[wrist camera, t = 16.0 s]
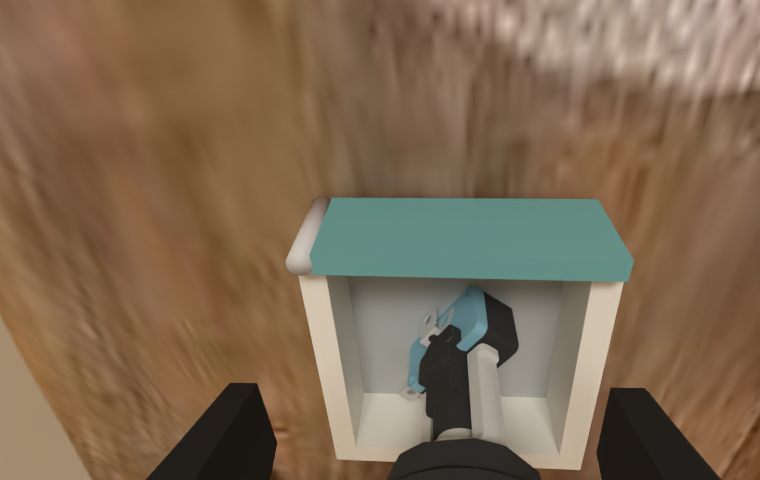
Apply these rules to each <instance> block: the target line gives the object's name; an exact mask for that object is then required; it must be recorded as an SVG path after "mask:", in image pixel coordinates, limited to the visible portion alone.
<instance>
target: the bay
mask: <svg viewBox="0 0 760 480" xmlns="http://www.w3.org/2000/svg"><path fill="white" fill-rule="evenodd" d="M299 281H300V286H301V290H302V295H303V300H304V305H305V309H306V314H307V319H308V324H309V328H310V333H311V338H312V343H313V347H314V352H315V357H316V362H317V366H318V371H319V376H320V381H321V385H322V390H323V395H324V400H325V404H326V409H327V414H328V419H329V423H330V428H331V433H332V438H333V442H334V447H335V452H336V457H337V459H342V460H364V461H387V462H396V460H397V458H398V456H399V455H400V454H401V453H402V452H404V451H406V450H408V449H410V448H412V447H414V446H416V445H418V444H420V443H422V414H423V407H422V406H421V396H422V394H420V395H419V396H418V397H417V398H416V399H415V400H414V401H409V400H407V399H405V398H403V397H401V396H400V395H399V392H400V391H401V390H402V389H404V388H405V387H406V386H407V385H408V384H407V383H405V382H403V381H401V379H400V378H401V376H402V375H404V374H405V373H406V372H407V371H408V370H409V365H410V350H411V347H412V345H413V343H414V342H415V341H416V340H417V339H418V338H419V337H420V324H421V320H422V318H423V316H424V315H425V314H426V313H427V312H428V311H429V310H430V309H431V308H432V307H433V306H435V307H437V319H438V318H439V317H440V316H441V315H442V313H443V312H444V311H445V310H446V309H447V308H448V307H449V306H450V305H451V304H452V303H453V302H454V301H455V300H456V299H457V298H458V297H459V296H460V295H461V294H462V293H463V291H464V290H465V289H466V288H467V287H468V286H470V285H474V286H476V287H477V288H479V289H481V290H482V291H484V292H485V293H487V294H489V295H490V296H492V297H494V298H495V299H497V300H499V301H500V302H502V303H504V304H505V305H507V306H509V307H510V308H512V311H513V316H514V322H515V327H516V332H517V337H518V342H519V348H518V350H517V352H516V353H515V354H514V355H513V356H512V357H511V358H509V359H508V360H507V361H506V362H505V363H503V364H502V365H501V366H500V367H499V368H498V369H497V373H498V380H499V388H500V395H501V403H502V410H503V418H504V425H505V433H506V440H507V445H508V448H509V449H511V450H512V451H513V452H514V453H516V454H517V455H518V456H519V457H521V458H522V459H523V460H524V461H526V462H527V463H528V464H529V465H531V466H532V467H533V468H546V469H568V470H580V469H581V465H582V461H583V456H584V452H585V448H586V443H587V439H588V435H589V430H590V426H591V422H592V417H593V413H594V409H595V404H596V400H597V396H598V391H599V387H600V383H601V378H602V374H603V370H604V365H605V361H606V357H607V352H608V348H609V344H610V339H611V335H612V331H613V326H614V322H615V318H616V313H617V309H618V305H619V300H620V296H621V292H622V287H623V283H624V282H604V281H561V280H517V279H473V278H430V277H386V276H342V275H312V270H311V272H310V273H309V274H307V275H304V276H299ZM430 319H431V316H429V317H428V319H427V321H426V325H427V324H428V322H429V321H430ZM408 378H409V376H408ZM407 393H408V394H411V395H412V394H415V393H416V392H415V391H414V390H408V391H407Z"/></svg>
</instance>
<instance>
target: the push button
mask: <svg viewBox="0 0 760 480" xmlns="http://www.w3.org/2000/svg"><path fill="white" fill-rule="evenodd" d="M429 316H431V319H430V321H429V322H428V324H427V325H426V321H427V319H428V317H429ZM518 348H519V342H518V337H517V332H516V327H515V322H514V316H513V311H512V308H510V307H509V306H507V305H505V304H504V303H502V302H500V301H499V300H497V299H495V298H494V297H492V296H490V295H489V294H487V293H485V292H484V291H482V290H481V289H479V288H477V287H476V286H474V285H470V286H468V287H467V288H466V289H465V290H464V291H463V293H462V294H461V295H460V296H459V297H458V298H457V299H456V300H455V301H454V302H453V303H452V304H451V305H450V306H449V307H448V308H447V309H446V310H445V311H444V312H443V313H442V315H441V316H440V317H439V318H438V319H437V307H435V306H433V307H432V308H431V309H430V310H429V311H428V312H427V313H426V314H425V315H424V316H423V318H422V320H421V324H420V337H419V338H418V339H417V340H416V341H415V342H414V343H413V345H412V347H411V350H410V365H409V370H408V371H407V372H406V373H405V374H404V375H402V376H401V378H400V379H401V381H403V382H405V383H407V384H408V385H407V386H406V387H405V388H404V389H402V390H401V391H400V392H399V395H400V396H401V397H403V398H405V399H407V400H409V401H414V400H415V399H416V398H417V397H418V396H419V395H420V394H422V396H421V406H422V407H423V414H422V443H420V444H418V445H416V446H414V447H412V448H410V449H408V450H406V451H404V452H402V453H401V454H400V455H399V456H398V458H397V460H396V462H395V464H394V466H393V468H392V470H391V473H390V475H389V477H388V479H387V480H541V478H540V474H539V472H538V471H537V470H536V469H535V468H533V467H532V466H531V465H529V464H528V463H527V462H526V461H524V460H523V459H522V458H521V457H519V456H518V455H517V454H516V453H514V452H513V451H512V450H511V449H509V448H508V445H507V440H506V433H505V425H504V418H503V410H502V403H501V395H500V388H499V380H498V373H497V369H498V368H499V367H500V366H501V365H502V364H503V363H505V362H506V361H507V360H508V359H509V358H511V357H512V356H513V355H514V354H515V353H516V352H517V350H518ZM408 376H409V378H408ZM408 390H414V391H415V392H416V393H415V394H412V395H411V394H408V393H407V391H408Z"/></svg>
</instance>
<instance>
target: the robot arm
mask: <svg viewBox="0 0 760 480" xmlns="http://www.w3.org/2000/svg"><path fill="white" fill-rule="evenodd" d="M276 447H277V441H276V438H275V435H274V432H273V429H272V426H271V423H270V420H269V417H268V414H267V411H266V408H265V405H264V403H263V400H262V397H261V394H260V391H259V388H258V385H257V383H230V384H229V385H228V386H227V387H226V388H225V389H224V390H223V391H222V393H221V394H220V395H219V396H218V397H217V398H216V400H215V401H214V402H213V403H212V404H211V405H210V407H209V408H208V409H207V410H206V411H205V413H204V414H203V415H202V416H201V417H200V418H199V420H198V421H197V422H196V423H195V424H194V425H193V427H192V428H191V429H190V430H189V431H188V432H187V434H186V435H185V436H184V437H183V438H182V439H181V441H180V442H179V443H178V444H177V445H176V446H175V447H174V448H173V450H172V451H171V452H170V453H169V454H168V455H167V456H166V457H165V459H164V460H163V461H162V462H161V463H160V464H159V465H158V466H157V468H156V469H155V470H154V471H153V472H152V473H151V474H150V475H149V476H148V478H147V479H146V480H270V476H271V471H272V467H273V462H274V457H275V452H276ZM596 453H597V458H598V463H599V467H600V472H601V477H602V480H721V479H720V478H719V477H718V475H717V474H716V473H715V472H714V471H713V470H712V468H711V467H710V466H709V465H708V464H707V463H706V461H705V460H704V459H703V458H702V457H701V456H700V454H699V453H698V452H697V451H696V450H695V448H694V447H693V446H692V445H691V444H690V442H689V441H688V440H687V439H686V438H685V437H684V435H683V434H682V433H681V432H680V430H679V429H678V428H677V427H676V426H675V424H674V423H673V422H672V421H671V419H670V418H669V417H668V416H667V414H666V413H665V412H664V411H663V409H662V408H661V407H660V406H659V404H658V403H657V402H656V401H655V399H654V398H653V397H652V396H651V394H650V393H649V392H648V391H647V390H646V389H645V388H610V393H609V398H608V402H607V407H606V411H605V416H604V420H603V425H602V430H601V434H600V439H599V443H598V448H597V452H596Z"/></svg>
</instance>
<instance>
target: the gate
mask: <svg viewBox="0 0 760 480" xmlns="http://www.w3.org/2000/svg"><path fill="white" fill-rule="evenodd" d="M633 263H634V260H633V258H632V257H631V255H630V253H629V251H628V250H627V248H626V246H625V245H624V243H623V241H622V240H621V238H620V236H619V235H618V233H617V231H616V229H615V228H614V226H613V224H612V223H611V221H610V219H609V218H608V216H607V214H606V212H605V211H604V209H603V207H602V206H601V204H600V202H599V201H598V199H481V198H332V199H331V200H330V199H329V198H327V197H317V198H316V199H314V201H313V202H312V205H311V207H310V209H309V211H308V213H307V215H306V218H305V220H304V222H303V224H302V226H301V228H300V231H299V233H298V235H297V237H296V239H295V241H294V244H293V246H292V248H291V250H290V252H289V254H288V257H287V259H286V267H287V269H288V270H289V271H290V272H291V273H293V274H295V275H298V276H304V275H307V274H309V273H310V272H311V270H312V275H342V276H386V277H430V278H473V279H517V280H561V281H604V282H628V280H629V277H630V273H631V270H632V266H633Z"/></svg>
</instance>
